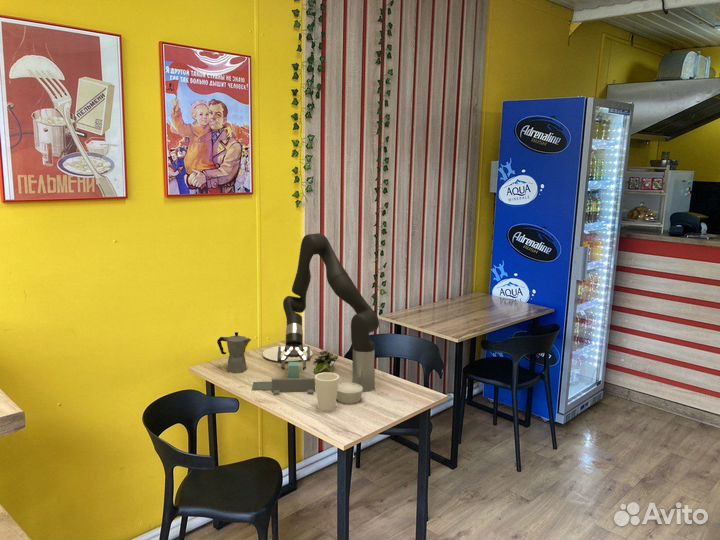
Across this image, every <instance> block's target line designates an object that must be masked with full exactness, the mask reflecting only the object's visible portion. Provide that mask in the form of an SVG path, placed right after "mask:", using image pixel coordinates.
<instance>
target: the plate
mask: <svg viewBox="0 0 720 540" xmlns="http://www.w3.org/2000/svg"><path fill="white" fill-rule="evenodd" d="M279 346H280V347H281V348H285V346H286V344H285V345H278V346H277V345H276V346H273V347H268V348H267V349H265V350H263V352H262V356H263V358H264V359H267V360H269V361H273V362H280V363H281V361H278V359H277V356H278V347H279ZM285 353H286V352H285V351H283V352H282V353H281V357H283V356H284V355H285ZM302 353H303V355H304V356H305V357H307V352H305V350H304V351H303V352H302ZM313 353H314V352H313V351H312V350H311V349H310V358H311V357H312V356H313ZM300 361H303V360H302V359H301V358H300V357H288V359H286V360H285V363H289V362H300Z"/></svg>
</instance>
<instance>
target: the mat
mask: <svg viewBox="0 0 720 540" xmlns="http://www.w3.org/2000/svg"><path fill="white" fill-rule="evenodd" d="M252 390H254V391H255V390H262V391H272V381H253V382H252V387H251V391H252ZM254 391H253V392H254Z"/></svg>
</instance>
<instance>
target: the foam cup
mask: <svg viewBox="0 0 720 540" xmlns="http://www.w3.org/2000/svg"><path fill="white" fill-rule="evenodd" d="M314 378H315V392H316V398H317V399H316V400H317V406H318V410H319V411H320V412H325V413H326V412H333V411H334V410H335V408H336V402H337V390H338V384H340V375H339V374H338V373H335V372H331V373H330V371H329V372H318V373H317V374H315V376H314Z"/></svg>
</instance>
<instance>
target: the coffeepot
mask: <svg viewBox="0 0 720 540" xmlns="http://www.w3.org/2000/svg"><path fill="white" fill-rule="evenodd" d="M251 341H252V339H251V338H249V337H246V336H244V335H239V332H237V331H236V332H234V335H231V336H220V337H219V338H218V339H217V341H216V343H217V346H218V348H219V351H220V353H221V355H226V354H227V352H225V351H224V346H223V344H222V342H226V345H227V351H228V353H229V356H228V360H227V364H226V371H227V372H228V373H230V372H231V374H241V373H244V372H246V371H247V370H248V366H247V363H246V356H245V353H246V349H247V346H248V344H249V343H250V342H251Z"/></svg>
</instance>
